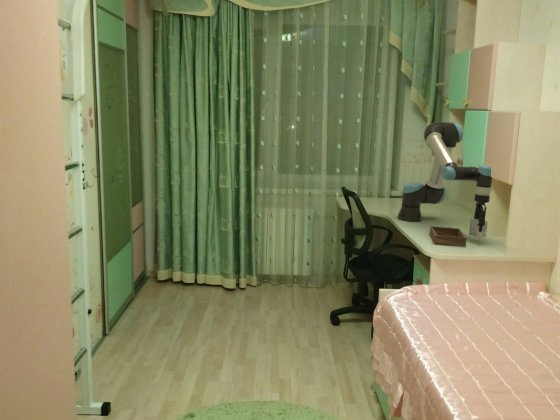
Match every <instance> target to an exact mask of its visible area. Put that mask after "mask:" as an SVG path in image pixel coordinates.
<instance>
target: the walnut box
mask: <svg viewBox="0 0 560 420" xmlns="http://www.w3.org/2000/svg"><path fill="white" fill-rule="evenodd" d="M429 236H430V237H429V238H431V241H432V243H433V244H434V245H435V246H437V245H438V246H449V247H457V246H458V248H459V247H460V248H466V247H467V246H466V245H467V241H468V240H467V236H466V235H465V234H464V233H463V231H462V229H460V228H456V227H447V226H446V227H443V226H430V227H429Z"/></svg>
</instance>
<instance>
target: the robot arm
mask: <svg viewBox="0 0 560 420" xmlns="http://www.w3.org/2000/svg"><path fill="white" fill-rule="evenodd" d="M463 137H464V131H463V128H462V125H461V124H459V123H457V122H444V121H433V122H430V123H429V124H428V125H427V126H426V127H425V129H424V132H423V139H424V141H425V143H426V144H427V145H428V146H429V147H430V148H431V150H432V152H433V154H434V155H435V157H434V160H433V164H432V167H431V171H430V175H429V178H428V179H427V180H426V181H425V182H424V183H425V184H424V183H421V182H410V183H409V182H408V183H405V184H404V185H403V188H402V198H401V199H402V200H401V207H400V210H398V211H399V212H398V214H397V219H398V220H400V221H404V222H411V223H413V222H415V223H417V222H421V221H422V220H423V216H422V211H421V204H426V205H427V204H429V205H435V204H441V203H443V202H444V200H445V198H446V196H447V193H446V192H447V189H446V187H445V185H444V180H445V181H463V182H464V181H470V182H471V181H472V182H476V185H475V192H474V193H475V194H474V201H475V202H476V203H475V210H474V216H473V219H479V224H477V225H478V228H477V236H475V237H476V238H479V239H480V238H483V237H482V233H483V226H484V225H485V221H486V216H487V215H486V213H487V206H486V203H490V199H491V196H490V195H491V191H492V190H493V189H492V183H493V178H492V177H491V167H490V166H491V165H485V164H484V165H479V166H478V167H476V166H473V165H472V166H458V164H457V162H456V161H455V159H454V158H453V155H452V151H453V149H454V148H456V146H457V144H458V143H460V142H462V141H463V139H464V138H463ZM423 184H424V185H423Z"/></svg>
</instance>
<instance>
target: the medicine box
mask: <svg viewBox="0 0 560 420" xmlns="http://www.w3.org/2000/svg"><path fill="white" fill-rule="evenodd" d="M469 221H470V223H469V231H468V232H469V233H468V235H469V236H473V237H474V236H475V237H476V236H477V228H478V225H477V224H479V219H474V218H471V219H470V220H469ZM488 223H489V222H488V221H486V220H485V225H484V226H483V233H482V238H486V237H487V232H488V231H487V230H488V229H487V228H488Z"/></svg>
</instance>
